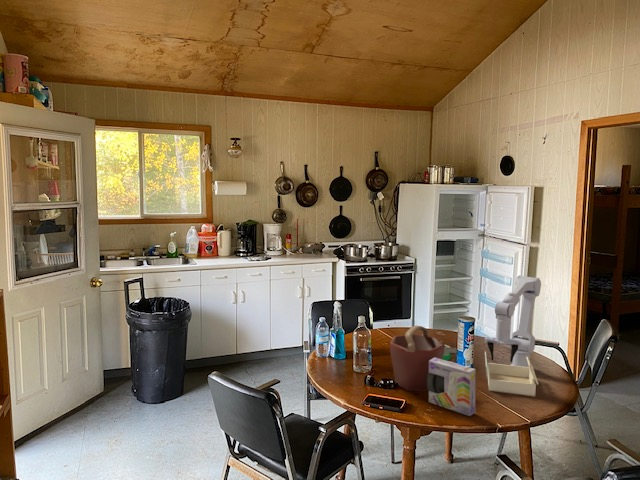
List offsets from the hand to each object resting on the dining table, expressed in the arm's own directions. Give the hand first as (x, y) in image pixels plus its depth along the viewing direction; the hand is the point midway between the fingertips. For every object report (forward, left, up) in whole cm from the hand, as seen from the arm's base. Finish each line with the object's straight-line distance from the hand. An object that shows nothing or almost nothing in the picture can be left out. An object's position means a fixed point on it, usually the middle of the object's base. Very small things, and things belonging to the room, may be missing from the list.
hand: (501, 360), depth 214 cm
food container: (-14, -25, -11) cm, 31 cm away
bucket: (+12, -36, -11) cm, 40 cm away
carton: (0, +4, -10) cm, 11 cm away
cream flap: (0, +12, -3) cm, 12 cm away
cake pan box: (+31, -20, -11) cm, 39 cm away
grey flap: (0, -6, -3) cm, 7 cm away
